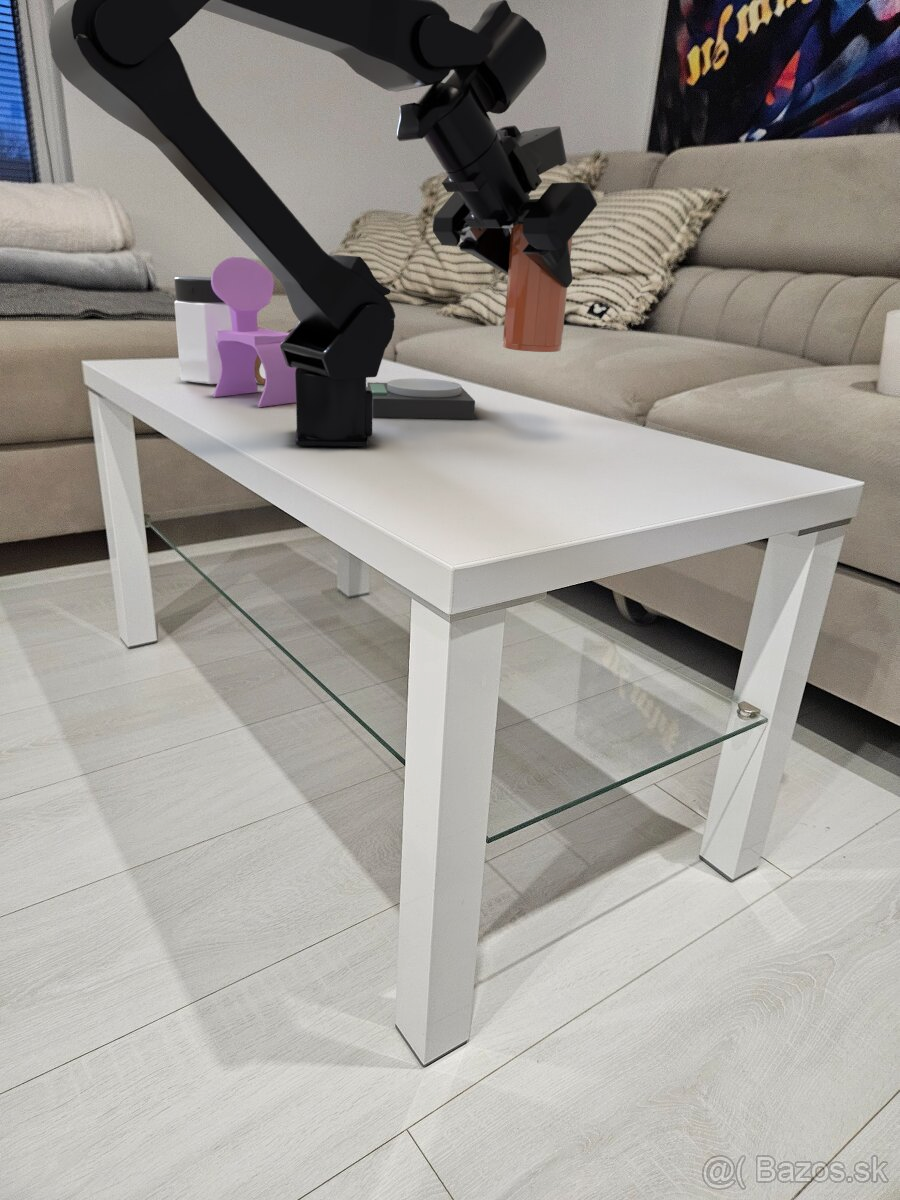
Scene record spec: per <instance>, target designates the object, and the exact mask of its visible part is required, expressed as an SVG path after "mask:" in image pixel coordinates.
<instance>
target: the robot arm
mask: <svg viewBox="0 0 900 1200" xmlns="http://www.w3.org/2000/svg"><path fill="white" fill-rule="evenodd" d="M200 10H203V11H206V12H209V13H212V14H215V15H219V16H221V17H224V18H226V19H227V18H228V19H231V20H234V21H237V22H240V23H242V24H245V25H249V26H251V27H254V28H257V29H260V30H263V31H266V32H269V33H272V34H275V35H278V36H281V37H284V38H287V39H290V40H293V41H294V42H295V41H296V42H299V43H302V44H304V45H308V46H311V47H313V48H315V49H320V50H322V51H326V52H327V53H331V54H333V55H334V56H336V57H337V58H339V59H341V60H342V61H344V62H345V63H346V64H347V65H348V66H349V67H350V68H351V69H352V70H353V71H354V72H355V73H356V74H357V75H359V76H361V77H363V78H364V79H366V80H368V81H370V82H371V83H373V84H375V85H376V86H378V87H380V88H381V89H383V90H385V91H388V92H396V93H397V92H402V91H407V90H412V89H419V88H422V87H427V86H430V87H428V89H427V90H426V91H425V92H424V94H422V96H421V97H420V98H419V99H418V100H417V101H416V102H410V103H403V104H401V105H400V106H399V121H398V125H397V131H396V139H397V140H398V141H399V142H406V141H416V140H422V139H424V140H425V142H426V143H427V145H428V146H429V148H430V150H431V151H432V152H433V154H434V156H435V158H436V159H437V160H438V162H439V164H440V166H441V167H442V168H443V171H444V173H445V175H447V176H446V178H444V180H443V181H442V182H441V184H442V186H443V187H444V189H445V191H446V192H447V193H452V194H451V196H450V197H449V198H448V199H447V200H446V201H445V203H444V204H442V206H441V208H440V209H439V210H438V211H437V212H436V214H435V215H434V216H433V217H432V232H433V234H434V235H435V237H436V239H437V240H438V241H439V243H440V245H441V246H446V247H447V246H448V247H449V246H450V247H457V246H458V249H459V250H460V251H461V252H464V253H467V254H469V255H471V256H473V257H475V258H477V260H480V261H482V262H484V263H486V264H487V265H489V266H491V267H492V268H494V269H496V270H498V271H499V272H501V273H503V274H504V275H506V276H508V268H509V255H510V241H511V230H510V229H511V228H513V227H514V226H515V225H516V224H523V232H522V233H523V235H524V237H525V239H526V240H527V242H528V243H529V244H528V245H527V246H526V248H525V249H524V250H523V253H524V254H525V255H526V256H527V257H529V258H530V259H531V260H532V261H533V262H534V263H536V264H537V265H538V266H539V267H540V268H541V269H542V270H543V271H545V272H546V273H547V274H548V275H549V276H550V277H551V278H552V279H554V280H555V281H556V282H557V283H559V284H560V285H561V286H562V287H564V288H567V289H568V288H569V286H570V285H571V284H572V283H573V272H572V270H573V269H572V264H571V263H572V262H571V256H570V255H569V247H568V241H569V239H570V238H571V237H572V238H573V236H574V235H575V233H576V232H577V231H578V229H579V228H580V227H582V224H583V223H584V222H585V221H586V219H588V217H589V216H590V215H591V213H592V212H593V211H594V210H595V208H597V206H598V203H597V199H596V197H595V195H594V193H593V191H592V189H591V187H590V185H589V183H586V182H581V181H580V182H579V181H572V182H571V181H570V182H569V181H568V182H552V183H551V184H550V185H549V186H548V188H546V190H545V191H544V192H543V194H542V195H540V197H539V198H531V196H530V193H532V192H534V191H537V189H538V188H539V186H540V185H541V184H542V182H543V180H542V179H541V177H540V175H542V174H544V173H546V172H548V171H549V170H551V169H553V168H555V167H557V166H558V167H561V166H562V167H563V165H565V164H567V162H568V159H567V154H566V149H565V143H564V138H563V134H562V128H561V126H560V125H559V126H558V125H556V126H548V127H547V126H546V127H539V128H538V127H537V128H533V129H530V130H524V131H520V130H519V128H518V127H517V126H516V125H507V126H506V125H505V126H502V127H500V128H498V129H496V127H495V125H494V123H493V121H492V119H491V118H490V116H489V114H488V113H491V114H495V115H496V114H497V115H500V114H503V113H506V111H507V110H509V108H510V107H511V106H512V105H513V104H514V102H515V101H516V100H517V99H518V98H519V96H520V95H521V94H522V93H523V91H524V90H525V89H526V88H527V87H528V86H529V85H530V83H531V82H532V81H533V80H534V78H535V77H536V76H537V74H538V73H539V72H540V71H541V70H542V69H543V67H544V66H545V64H546V61H547V47H546V43H545V41H544V40H545V39H544V38H543V36H542V34H541V32H540V30H539V29H536V28H535V27H534V25H533V24H532V23H531V22H530V21H529V20H528V19H527V18H525V17H524V16H522V15H521V14H519V13H516V12H514V11H512V10H511V7H510V5H509V2H508V1H507V0H499V1H495V2H492V3H490V4H488V6H487V7H486V8H485V9H484V11H483V12H482V14H481V16H480V17H479V20H478V21H477V22H476V24H475V25H474V26H473V27H472V28H471V29H469V28H467V27H465V26H463V25H461V24H458V23H456V22H454V21H452V20H450V18H451V17H450V13H449V12H448V10H447V9H446V8H445V7H444V6H442V5H441V4H439V3H438V2H437V1H435V0H68V1H66V2H65V3H64V4H63V5H61V6H60V7H58V8H57V9H56V11H55V13H54V15H53V16H52V18H51V20H50V24H49V25H50V26H49V32H48V38H49V46H50V51H51V52H50V54H51V57H52V60H53V62H54V64H55V66H56V68H57V69H58V70H59V72H60V73H61V75H62V76H63V77H64V78H65V80H67V82H69V83H70V84H71V85H72V86H73V87H74V88H76V89H77V90H78V91H79V92H80V93H81V94H83V95H84V96H86V98H88V99H89V100H91V101H92V102H93V103H94V104H95V105H97V106H98V107H99V108H100V109H101V110H103V111H104V112H105V113H107V114H108V115H109V116H111V117H112V118H114V119H116V120H117V121H119V122H120V123H121V124H123V125H124V126H125V127H128V128H129V129H131V130H133V131H134V132H136V133H137V134H139V135H140V136H142V137H144V138H145V139H147V140H148V141H149V142H151V143H152V144H153V145H154V146H155V147H156V148H157V149H158V150H159V151H160V152H161V153H162V154H163V156H165V157H166V158H167V159H168V161H169V162H170V163H171V164H172V165H173V166H174V168H176V169H177V170H178V172H179V173H180V174H181V175H182V176H183V177H184V178H185V179H186V180H187V182H189V183H190V185H191V186H192V187H193V188H194V189H195V190H196V191H197V192H198V193H199V195H200V196H201V197H202V198H203V199H204V200H205V201H206V202H207V203H208V205H210V206H211V208H212V209H213V210H214V211H215V213H217V214H218V215H219V216H220V218H222V220H223V221H224V222H225V223H226V224H227V225H228V227H230V229H232V231H233V232H235V234H236V235H237V236H238V237H239V238H240V239H241V240H242V241H243V242H244V244H245V245H246V246H247V247H248V248H249V249H250V250H251V251H252V252H253V254H254V255H255V256H257V258H258V260H260V261H261V262H262V264H263V265H265V267H266V268H267V269H268V270H269V271H270V273H271V274H272V275H274V277H276V278H277V280H278V282H280V283H281V285H282V287H283V288H284V289H283V290H284V292H285V294H286V298H287V300H288V302H289V304H290V307H291V310H292V312H293V314H294V316H295V317H296V318H297V320H298V323H297V324H296V325H295V326H294V327H295V328H294V327H293V328H294V329H293V328H292V329H293V330H292V331H291V332H290V333H289V335H288V336H287V337H286V338H285V339H284V341H283V342H282V343H281V345H280V348H281V351H282V353H283V356H284V359H285V362H286V365H287V366H288V367H295V368H296V372H295V382H296V402H295V417H296V429H295V437H294V445H296V446H301V447H302V446H307V447H308V446H309V447H310V446H311V447H312V446H313V447H368V446H369V439H368V438H370V437H372V436H373V416H372V412H373V393H372V390H371V388H370V387H368V386H367V379H368V378H376V377H377V376H378V374H379V370H380V367H381V364H382V361H383V358H384V355H385V351H386V349H387V348H388V346H389V344H390V342H391V340H392V338H393V334H394V331H395V319H396V316H397V315H396V312H395V309H394V307H393V305H392V303H391V301H390V300H389V299H388V298H387V295H388V296H389V295H390V294H391V289H389V288H387V287H386V286H383V284H382V283H380V282H379V281H378V280H377V278H376V277H375V275H374V274H373V272H372V270H371V268H370V267H369V265H368V263H366V261H365V260H364V259H363V258H362V257H361V256H359V255H357V256H356V255H342V254H329V253H327V252H326V251H325V250H324V249H323V248H322V246H320V244H319V243H318V242H317V241H316V239H315V238H314V237H313V236H312V235H311V233H309V231H308V230H307V229H306V228H305V226H304V225H303V224H302V223H301V222H300V220H299V219H298V218H297V217H296V216H295V215H294V213H293V212H292V211H291V210H290V208H288V206H287V205H286V203H284V201H282V199H281V198H280V197H279V196H278V194H277V193H276V192H275V191H274V189H273V188H272V187H271V186H270V185H269V184H268V182H267V181H266V180H265V179H264V178H263V176H262V175H261V174H260V173H259V172H258V170H257V169H256V168H255V167H254V166H253V164H252V163H251V162H250V161H249V160H248V159H247V158H246V156H245V155H244V154H243V153H242V152H241V151H240V149H239V148H238V147H237V146H236V144H235V143H234V142H233V141H232V140H231V138H230V137H229V136H228V135H227V134H226V132H225V131H224V130H223V129H222V127H220V125H219V124H218V123H217V122H216V121H215V120H214V118H213V117H212V116H211V115H210V113H209V112H208V111H207V110H206V109H205V108H204V107H203V105H202V103H201V102H200V100H199V98H198V97H197V94H196V91H195V89H194V86H193V84H192V81H191V79H190V76H189V74H188V71H187V69H186V66H185V64H184V61H183V59H182V56H181V54H180V53H179V51H178V50H177V48H176V46H175V45H174V43H173V41H172V40H171V38H172V36H173V35H175V34H176V33H178V32H179V31H180V30H181V29H182V28H184V26H186V25H187V24H188V22H190V21H191V20H192V19H193V17H195V16H196V15H197V13H199V12H200ZM173 37H174V36H173ZM451 71H454V72H453V73H452V74H451V75H450V73H451ZM449 75H450V77H448V76H449ZM447 77H448V79H447V80H446V81H445V82H443V80H445V79H446V78H447Z"/></svg>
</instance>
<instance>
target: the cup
mask: <svg viewBox="0 0 900 1200" xmlns="http://www.w3.org/2000/svg"><path fill="white" fill-rule="evenodd" d="M522 232H523V224H516V225H515V226H514V227H513V228H510V233H511V241H510V255H509V268H508V275H507V283H506V296H505V311H504V325H503V335H502V336H503V338H502V341H503V344H502V347H503V348H505V349H507V350H511V351H512V350H513V351H522V352H532V353H557V352H560V351H561V349H562V344H563V337H564V336H563V335H564V326H565V325H564V324H565V317H566V316H565V314H566V305H567V296H568V295H567V294H568V287H567V288H564V287H562V286H561V285H560V284H559V283H557V282H556V281H555V280H554V279H552V278H551V277H550V276H549V275H548V274H547V273H546V272H545V271H543V270H542V269H541V268H540V267H539V266H538V265H537V264H536V263H534V262H533V261H532V260H531V259H530V258H529V257H527V256H526V255H525V254H524V253H523V250H524V249H525V248H526V246H527V245H528V244H529V243H528V242H527V240H526V239H525V237H524V235H523V233H522ZM572 244H573V236H572V237H571V238H570V239H569V241H568V247H569V255H570V257H571V255H572V254H571V253H572V247H573V246H572Z"/></svg>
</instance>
